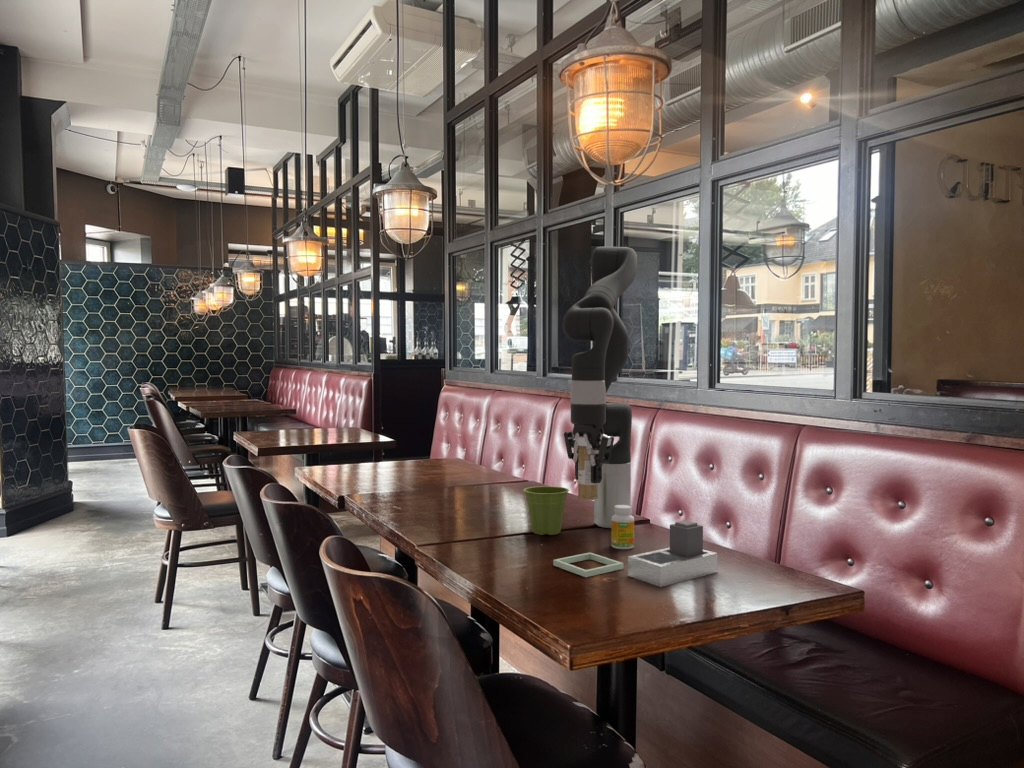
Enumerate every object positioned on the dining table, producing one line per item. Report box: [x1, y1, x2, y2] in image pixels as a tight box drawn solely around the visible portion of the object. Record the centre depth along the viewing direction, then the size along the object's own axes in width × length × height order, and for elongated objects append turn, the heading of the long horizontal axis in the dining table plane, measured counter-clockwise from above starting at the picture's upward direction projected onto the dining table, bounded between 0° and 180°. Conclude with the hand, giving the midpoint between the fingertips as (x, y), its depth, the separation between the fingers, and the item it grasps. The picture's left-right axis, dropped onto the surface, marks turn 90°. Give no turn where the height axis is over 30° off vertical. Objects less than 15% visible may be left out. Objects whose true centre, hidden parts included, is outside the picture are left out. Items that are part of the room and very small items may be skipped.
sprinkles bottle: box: [577, 436, 599, 501], centre depth 149 cm, size 5×5×13 cm
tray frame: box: [552, 552, 624, 578], centre depth 150 cm, size 11×11×1 cm
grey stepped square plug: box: [669, 519, 704, 558], centre depth 147 cm, size 5×5×10 cm
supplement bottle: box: [610, 505, 635, 550], centre depth 166 cm, size 5×5×10 cm
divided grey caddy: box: [627, 546, 718, 588], centre depth 144 cm, size 9×17×4 cm, turn 125°
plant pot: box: [523, 485, 570, 536], centre depth 181 cm, size 12×12×11 cm
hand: (588, 481), depth 149 cm, fingers closed on sprinkles bottle, 4 cm apart
